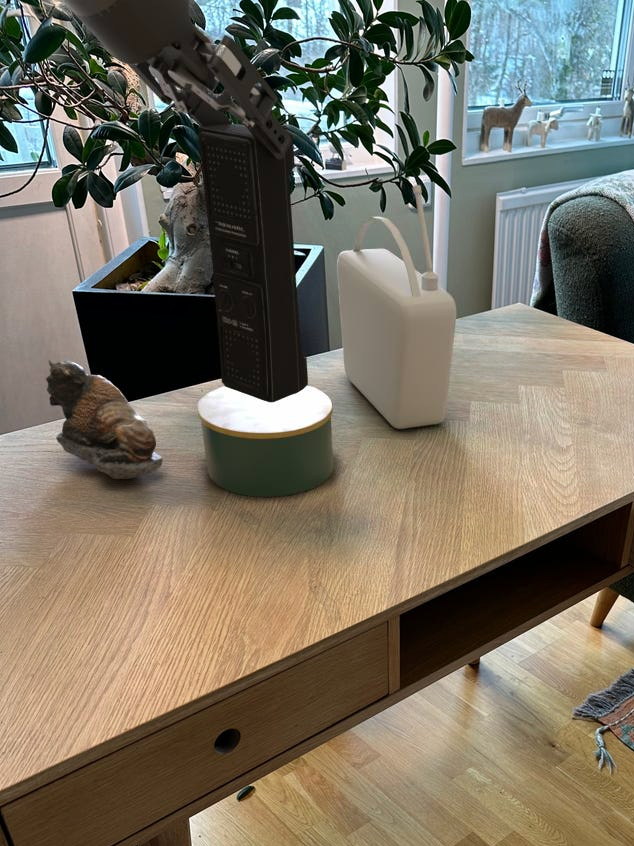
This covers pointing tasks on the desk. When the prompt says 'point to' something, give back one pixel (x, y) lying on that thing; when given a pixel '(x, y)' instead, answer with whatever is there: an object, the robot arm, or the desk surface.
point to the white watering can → (396, 329)
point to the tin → (267, 441)
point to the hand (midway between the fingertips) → (254, 143)
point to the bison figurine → (101, 423)
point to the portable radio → (252, 263)
